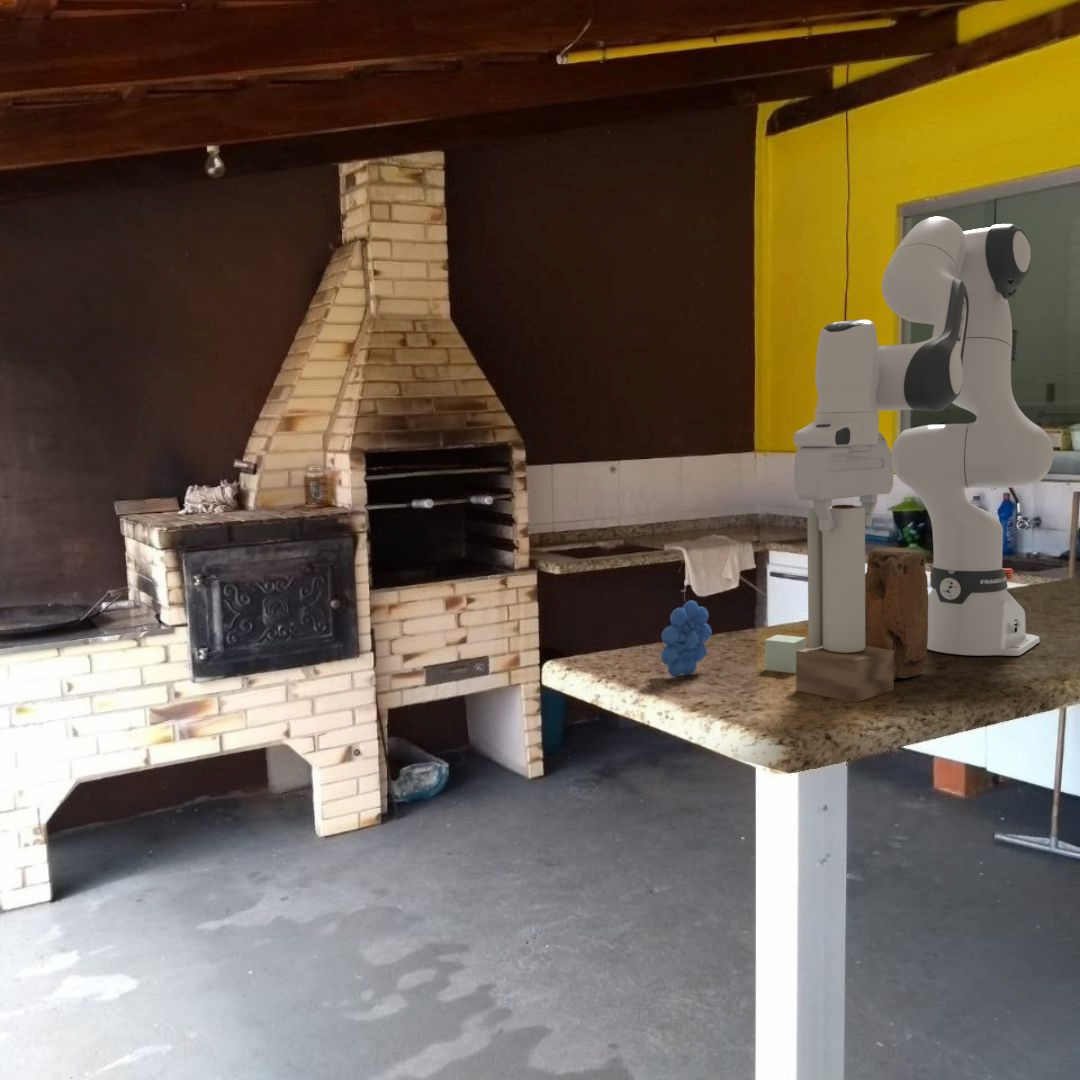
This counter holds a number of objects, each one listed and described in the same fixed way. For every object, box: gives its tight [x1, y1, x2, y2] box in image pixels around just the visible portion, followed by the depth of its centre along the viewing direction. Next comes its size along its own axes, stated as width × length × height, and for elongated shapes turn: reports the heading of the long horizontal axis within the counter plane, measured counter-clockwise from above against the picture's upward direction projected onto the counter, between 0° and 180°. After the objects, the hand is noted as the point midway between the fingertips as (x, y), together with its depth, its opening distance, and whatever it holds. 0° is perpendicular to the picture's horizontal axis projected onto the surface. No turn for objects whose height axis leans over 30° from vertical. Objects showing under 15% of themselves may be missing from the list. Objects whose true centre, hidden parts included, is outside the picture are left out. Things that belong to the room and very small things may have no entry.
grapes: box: [660, 599, 713, 678], centre depth 167 cm, size 12×7×12 cm, turn 134°
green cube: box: [764, 634, 807, 674], centre depth 171 cm, size 5×5×5 cm
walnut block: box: [795, 646, 894, 703], centre depth 155 cm, size 10×10×6 cm
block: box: [865, 546, 929, 680], centre depth 163 cm, size 11×8×20 cm
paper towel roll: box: [807, 504, 866, 653], centre depth 155 cm, size 7×6×21 cm
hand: (845, 528), depth 153 cm, fingers open, 8 cm apart
